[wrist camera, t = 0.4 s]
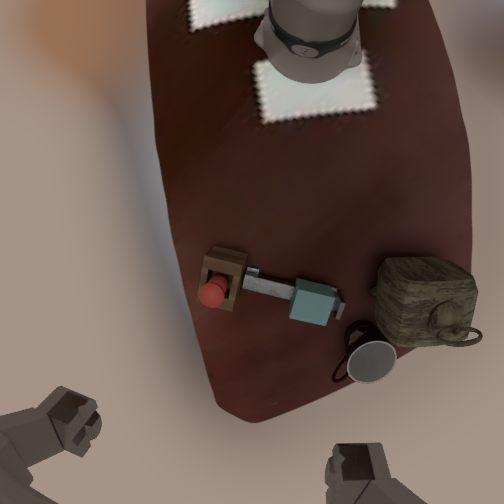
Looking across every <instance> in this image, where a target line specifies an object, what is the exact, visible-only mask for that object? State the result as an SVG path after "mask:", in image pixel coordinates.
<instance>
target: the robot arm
mask: <svg viewBox="0 0 504 504" xmlns="http://www.w3.org/2000/svg"><path fill="white" fill-rule="evenodd" d="M362 2H363V0H269V7H268V8H266V9H265V11H264V15H265V17H264V19H263V20H262V21H261V24H260V26H259V28H258V29H257V31H256V33H255V35H254V41H255V43H256V44H257V45H258V46H260V47H261V48H262V49H263V50H264V51H265V52H266V54H267V56H268V58H269V60H270V62H271V63H272V65H273V66H274V67H275V68H276V69H277V70H278V71H279V72H280V73H281V74H283V75H284V76H286V77H288V78H290V79H292V80H295V81H299V82H303V83H320V82H325V81H328V80H330V79H332V78H334V77H336V76H337V75H338V74H340V73H341V72H342V71H343V70H345V69H347V68H352V67H355V66H358V65H359V64H360V63H361V60H362V56H361V42H360V31H359V21H358V11H359V9H360V7H361V4H362ZM355 53H356V55H354V54H355ZM96 409H97V404H96V401H95V400H94V399H91V398H89V397H86V396H84V395H82V394H79V393H77V392H74V391H72V390H70V389H68V388H65V387H63V386H59V387H57V388H56V389H55V390H54V391H53V392H52V393H51V394H50V395H49V396H48V397H47V398H46V399H45V400H44V401H43V402H42V403H41V404H40V405H39V406H38V407H37V408H36V409H34V408H29V409H25V410H22V411H18V412H14V413H10V414H6V415H3V416H0V504H58V503H56V502H55V501H53V500H51V499H49V498H48V497H46V496H44V495H43V494H41V493H40V492H38V491H36V490H35V489H33V488H32V487H30V486H29V485H30V484H31V483H32V481H33V476H32V475H31V473H30V472H29V470H28V469H27V467H30V466H32V465H34V464H36V463H38V462H41V461H43V460H45V459H47V458H49V457H51V456H53V455H56V454H58V453H60V452H62V451H64V450H67V451H69V452H71V453H73V454H75V455H78V456H80V457H83V456H84V455H85V453H86V452H87V451H88V449H89V448H90V446H91V445H90V440H93V439H95V438H96V437H97V436H98V434H99V433H100V430H101V427H102V421H101V417H100V415H99V414H98V413H97V411H96ZM332 451H333V456H332V457H330V458H329V459H328V462H327V465H326V470H325V483H326V484H327V485H328V486H329V488H328V490H327V492H326V504H427V503H426V502H424V501H423V500H422V499H420V498H419V497H418V496H416V495H415V494H414V493H413V492H412V491H410V490H409V489H408V488H407V487H405V486H404V485H403V484H402V483H400V482H399V481H398V480H397V479H396V478H391V475H390V472H389V468H388V464H387V460H386V457H385V453H384V450H383V446H382V444H381V443H350V444H349V443H347V444H346V443H345V444H336V445H335V446H334V448H333V450H332Z"/></svg>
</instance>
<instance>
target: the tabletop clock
mask: <svg viewBox="0 0 504 504" xmlns="http://www.w3.org/2000/svg"><path fill="white" fill-rule="evenodd" d="M371 294H372V295H373V296H376V298H375V307H374V317H375V320H376V322H377V325H378V327H379V328H380V330H381V331H382V332H383V334H384V335H385V336H386V338H387V339H388V340H389V341H391V342H392V343H393V344H395V345H396V346H402V347H426V346H438V345H448V346H453V347H464V346H470V345H473V344H476V343H478V342H479V341H481V339H482V337H483V336H482V333H481V332H480V331H479V330H477V329H475V328H472V327H470V326H471V322H472V318H473V314H474V309H475V305H476V300H477V295H478V289H477V286H476V283H475V280H474V277H473V276H472V275H471V274H470V273H469V272H467V271H466V270H464V269H463V268H462V267H460V266H458V265H456V264H454V263H453V262H451V261H449V260H446V259H443V258H438V257H393V258H386V259H385V260H384V262H383V263H382V265H381V266H380V268H379V270H378V279H377V288H376V287H374V288H372V289H371ZM469 332H475V333H477V334H479V336H478V338H475V339H471V340H466V341H462V340H464V339H466V338H467V337H468V334H469Z"/></svg>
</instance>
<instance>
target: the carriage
mask: <svg viewBox="0 0 504 504" xmlns="http://www.w3.org/2000/svg"><path fill="white" fill-rule="evenodd" d="M295 283H296V287H295V290H294V294H293V297H292V300H290V307H289V318H292V319H296V320H301V321H305V322H310V323H314V324H319V325H323V326H326V323H327V321H328V318H329V315H330V312H331V309H332V306H333V303H334V300H335V296H334V293H333V290H332V289H331V287H330V286H327V285H323V284H319V283H315V282H311V281H307V280H302V279H298V278H297V279H296V282H295Z"/></svg>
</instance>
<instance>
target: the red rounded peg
mask: <svg viewBox="0 0 504 504" xmlns="http://www.w3.org/2000/svg"><path fill="white" fill-rule="evenodd" d="M228 286H229V280H228V278H227V277H226V276H225V275H223V274H220V273H218V274H215V275H213V276H212V278H211V279H210V280H209V282H208V283H206V284H204V285H203V286H202V288H201V289H200V291H199V298H200V301H201V302H202V303H203V304H204V305H205V306H207V307H210V308H215V307H218V306H219V305H221V304H222V302H223V300H224V297H225V292H226V290H227V288H228Z"/></svg>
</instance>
